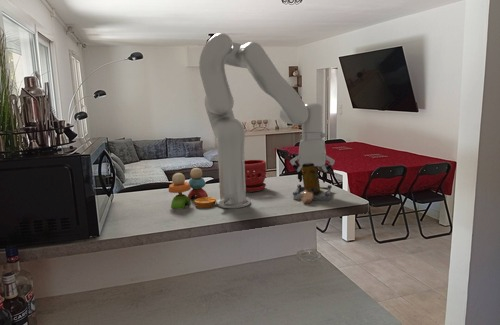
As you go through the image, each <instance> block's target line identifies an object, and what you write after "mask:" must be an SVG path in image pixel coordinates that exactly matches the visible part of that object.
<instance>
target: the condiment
mask: <svg viewBox="0 0 500 325" xmlns="http://www.w3.org/2000/svg"><path fill="white" fill-rule="evenodd" d="M301 170H302V182H303V187H304V190H311V191H312V192H313V194H314V195H321V194H323V193H325V192H326V191H328V190H326V189H320V187H321V186H320V180H319V170H318V168H317V167H315V166H314V164H303V166H302V169H301ZM303 192H304V191H303ZM303 192H301V194H303Z"/></svg>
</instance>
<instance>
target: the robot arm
mask: <svg viewBox="0 0 500 325" xmlns="http://www.w3.org/2000/svg"><path fill="white" fill-rule="evenodd" d="M198 64H199V65H198V66H199V74H200V77H201V81H202V86H203V90H204V93H205V97H204V107H205V110H206V114H207V118H208V120H209V123H210V127H211V129H212V132H213V135H214V136H215V138H217V161H218V162H217V163H218V178H219V179H218V181H219V199H216V203H215V206H217V207H218V208H223V209H237V208H238V209H239V208H240V209H241V208H244V207H247V206H249V205H250V204H251V199H250V198H249V197H247V191H246V183H245V141H246V140H245V138H246V135H245V134H246V131H245V128H244V125H243V123H242V122H241V121H240V120H239V119H237V118H235V115H234V111H233V108H234V105H235V103H234V102H235V100H234V97H233V94H232V92H231V88H230V85H229V80H228V79H227V74H226V69H225V65H227V66H232V67H236V68H240V69H241V68H242V69H247V71H248V72H249V73H250V74H251V76H252V78H253V79H254V80H255V82H256V84H257V85H258V87H259V88H260V89H261V90H262V91H263V92H264V93H266V94H267V95H268V96H269V97H271V98H272V99H274V100H275V101H276V102H277V104H279V106H280V107H281V108H280V110H279V118H280V120H281V121H282V122H283V123H285V124H289V125H294V126H301V139H300V141H299V145H298V146H299V148H298V155H296V156H295V157H294V158H292V159H290V160H289V163H290V164H291V166H292V167H293V169H295V171H296V172H297V180H298V182H299V183H301V182H303V176H302V166H303V164H314V166H315V167H316V168H317V167H320V168H321V169H322V183H326V181H327V180H328V171H330V169H331V168H332V167H333V166H334V164H335V162H336V161H335V159H334V158H332V157H330V156H328V155H327V151H326V150H327V149H326V143H325V139H323V138H326V137H327V133H326V132H325V133H324V132H323V106H322V104H320V103H315V102H314V103H311V102H310V103H305V102H304V100H303V99H302V97H301V96H300V95H299V93H298V92H297V90H296V89H294V87H293V86H292V85H291V84H290V83H289V82H288V81H287V80H286V79H285V78H284V77H283V76H282V74H281V73H280V72H279V70H278V69H277V68H276V66H275V64H274V62H272V60H271V58H270V57H269V55H268V54H267V53H266V51H265V49H264V48H263V47H262V45H261V44H260V43H258V42H255V41H250V42H249V41H248V42H246V43H245V44H244V43H238V42H235V41H232V38H231V37H230V36H229V35H228V34H226V33H223V32H220V33H215V34H214V35H213V36H211V37H210V38H209V40H208V41H207V42H206V43H205V45H203V47H202V51H201V53H200V56H199V62H198ZM297 160H298V165H297V163H296V161H297ZM327 161H328V162H329V164H328V165H326V164H327Z"/></svg>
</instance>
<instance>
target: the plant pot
mask: <svg viewBox="0 0 500 325" xmlns="http://www.w3.org/2000/svg"><path fill="white" fill-rule="evenodd" d="M244 161H245V183H246V193H247V192H250V193H251V192H258V191H262V190H264V189H265V188H266V186H267V185H266V183H264V182H265V180H266V175H267V163H266V160H264V159H244Z"/></svg>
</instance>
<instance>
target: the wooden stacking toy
mask: <svg viewBox="0 0 500 325" xmlns="http://www.w3.org/2000/svg"><path fill="white" fill-rule="evenodd" d="M189 174H190V178H189V181H186V177H185V175H184V174H183V173H181V172H176V173H174V174H173V175H172V179H171V181H172V183H171V184H169V187H168V192H169V193H171V194H176V195H175V196H174V197H173V199H172V201H171V205H170V206H171V207H170V208H171V209H175V210H176V209H177V210H180V209H181V210H182V209H185V206H186V205H190V204H191V199H193V198H195V199H194V204H195V207H197V208H200V209H206V208H207V209H208V208H213V207H214V206H216V201H217V198H216V197H212V196H208V193H207V191H206V190H205V189H203V188H204V187H205V186H206V184H207V183H206V182H205V179H204V178H203V170H202V169H201V168H199V167H194V168H192V169H191V171H190V173H189ZM188 191H189V192H188ZM185 192H188V194H187V195H186V194H185ZM183 193H184V194H183Z"/></svg>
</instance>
